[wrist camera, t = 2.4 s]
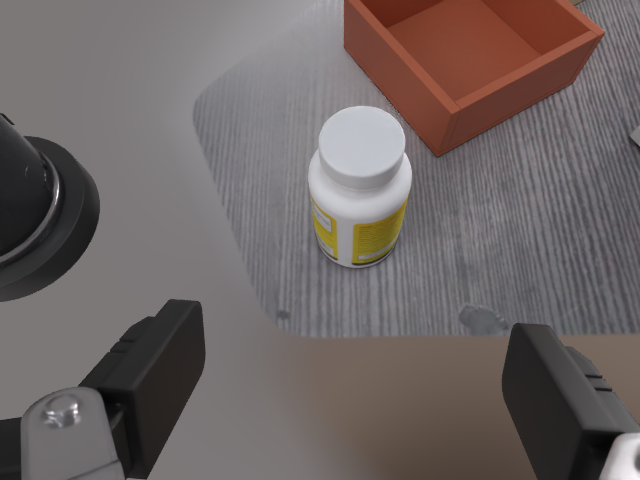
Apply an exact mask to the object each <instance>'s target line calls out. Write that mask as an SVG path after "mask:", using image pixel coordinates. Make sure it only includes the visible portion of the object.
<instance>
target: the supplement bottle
mask: <svg viewBox="0 0 640 480" xmlns="http://www.w3.org/2000/svg"><path fill="white" fill-rule="evenodd" d="M404 150H405V135H404V132H403V129H402V127H401V125H400V124H399V123H398V121H397V120H396V119H395V118H394V117H393V116H392V115H390V114H389V113H387V112H385V111H383V110H381V109H378V108H375V107H370V106H354V107H349V108H345V109H343V110H340V111H339V112H337V113H335V114H334V115H332V116H331V117H330V118H329V119H328V120H327V121H326V122H325V124H324V125H323V127H322V129H321V132H320V135H319V148H318V149H317V151H316V152H315V154H314V155H313V157H312V160H311V162H310V166H309V171H308V185H309V192H310V199H311V207H312V214H313V221H314V229H315V235H316V238H317V241H318V244H319V246H320V248H321V249H322V251H323V252H324V253H325V255H326V256H327V257H329V258H330V259H331V260H332V261H334V262H336V263H338V264H340V265H343V266H346V267H351V268H363V267H368V266H372V265H375V264H377V263H379V262H380V261H382V260H383V259H384V258H386V257H387V256H388V255H389V254H390V252H391V251H392V250H393V248H394V246H395V244H396V242H397V239H398V236H399V232H400V228H401V224H402V221H403V217H404V213H405V208H406V204H407V200H408V196H409V192H410V188H411V180H412V170H411V165H410V162H409V159H408V157H407V155H406V154H405V152H404Z"/></svg>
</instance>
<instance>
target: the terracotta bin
mask: <svg viewBox="0 0 640 480" xmlns="http://www.w3.org/2000/svg"><path fill="white" fill-rule="evenodd" d="M604 34H605V31H604V30H603V29H602V28H600V27H599V26H598V25H597V24H595V23H594V22H593V21H592V20H591V19H589V18H588V17H587V16H586V15H584V14H583V13H582V12H581V11H580V10H578V9H577V8H576V7H575V6H574V5H572V4H571V3H570V2H569V1H567V0H344V48H345V49H346V50H347V51H348V52H349V54H350V55H351V56H352V57H353V58H354V60H355V61H356V62H357V63H358V64H359V65H360V67H361V68H362V69H363V70H364V71H365V73H366V74H367V75H368V76H369V77H370V78H371V80H372V81H373V82H374V83H375V84H376V85H377V87H378V88H379V89H380V90H381V91H382V93H383V94H384V95H385V96H386V97H387V98H388V100H389V101H390V102H391V103H392V104H393V106H394V107H395V108H396V109H397V110H398V111H399V113H400V114H401V115H402V116H403V117H404V119H405V120H406V121H407V122H408V123H409V124H410V126H411V127H412V128H413V129H414V130H415V132H416V133H417V134H418V135H419V136H420V137H421V139H422V140H423V141H424V142H425V143H426V144H427V146H428V147H429V148H430V149H431V150H432V152H433V153H434V154H435V155H436V156H437V157H439V156H441V155H442V154H444V153H446V152H448V151H450V150H451V149H453V148H455V147H457V146H459V145H461V144H462V143H464V142H466V141H468V140H470V139H471V138H473V137H475V136H477V135H479V134H481V133H482V132H484V131H486V130H488V129H490V128H491V127H493V126H495V125H497V124H499V123H501V122H502V121H504V120H506V119H508V118H510V117H512V116H513V115H515V114H517V113H519V112H521V111H522V110H524V109H526V108H528V107H530V106H532V105H533V104H535V103H537V102H539V101H541V100H542V99H544V98H546V97H548V96H550V95H552V94H553V93H555V92H557V91H559V90H561V89H562V88H564V87H566V86H568V85H570V84H572V83H573V82H574V81H575V79H576V77H577V76H578V74H579V73H580V71H581V70H582V68H583V67H584V65H585V64H586V62H587V60H588V59H589V57H590V56H591V54H592V53H593V51H594V50H595V48H596V46H597V45H598V43H599V42H600V40H601V39H602V37H603V36H604Z"/></svg>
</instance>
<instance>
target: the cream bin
mask: <svg viewBox="0 0 640 480" xmlns="http://www.w3.org/2000/svg"><path fill="white" fill-rule="evenodd" d="M567 1H569V2H570V3H571V4H572V5H576V4H578V3H580V2H582V1H584V0H567Z"/></svg>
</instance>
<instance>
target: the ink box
mask: <svg viewBox="0 0 640 480" xmlns="http://www.w3.org/2000/svg"><path fill="white" fill-rule="evenodd" d="M630 137H631V138H632V139H633V140H634V141H635V142H636V143H637V144H638V145H639V146H640V125H639V126H638V127H637V128H636V129H635V130H634V131H633V132H632V133H631V134H630Z"/></svg>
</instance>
